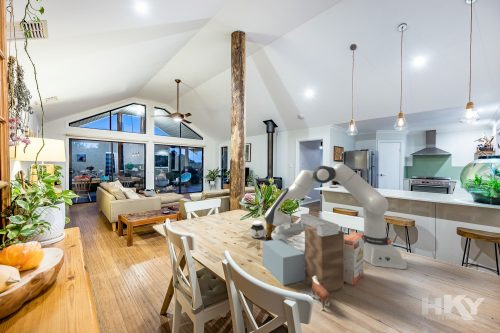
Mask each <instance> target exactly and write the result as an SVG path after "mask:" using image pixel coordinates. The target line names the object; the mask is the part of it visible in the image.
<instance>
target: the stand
mask: <svg viewBox="0 0 500 333" xmlns="http://www.w3.org/2000/svg"><path fill="white" fill-rule="evenodd" d="M344 234H345V232H344V231H343V230H340V229H338V234H334V235H328V236H319V235H317V229H316V228H314V227H311V226H308V227H306V228H305V231H304V254H305V280H304V282H305V283H306V284H307V285H309V287H311V288H312V281H313V279H310V277H313V276H317V278H318V279H321V280H320V281H319V280H318V282H319V283H320V284H321V285H322V286H323V287H324V288H325V289H326V290H327V292H328V293H329V294H332V293H335V292H339V291H342V290H344V282H343V276H344V238H345V237H344Z"/></svg>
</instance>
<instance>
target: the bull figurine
mask: <svg viewBox="0 0 500 333" xmlns="http://www.w3.org/2000/svg"><path fill="white" fill-rule="evenodd" d="M310 279H313V281H312V287H311V289H312V296H311V298H312V299H315V296H316V297H318V299H319V300H321V303H322V307H321V309H320V310H321V311H325V307H329V306H330V303H331V302H330V298H331V293H328V292H327V290H326V289H325V288H324V287H323V286H322V285H321V284H320V283H319V282H318V280H319V281H320V280H321V279H318V278H317V276H313V277H310Z"/></svg>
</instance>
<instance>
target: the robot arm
mask: <svg viewBox="0 0 500 333" xmlns="http://www.w3.org/2000/svg"><path fill="white" fill-rule="evenodd" d="M331 181H336V182H337V183H338V184H340V185H341V186H342V187H343V188H344V189H345V191H347V192H348V193H349V194H351V195H352V196H353V198H355V200H357V201H358V202H359V203H360V204H361V205H362V210H363V211H362V212H363V233H362V234H364V261H365V262H367V263H369V264H371V265H372V266H375V267H382V268H389V269H398V270H400V269H401V270H406V269H407V268H408V263H407V261H406V260H405V259H403V256H402V254H401V252H400V250H399V249H398V248H396V247H395V246H394V245H392V240H391V239H390V237H389V236H387V235H386V234H387V228H386V226H387V221H386V214H385V213H386V212H388V210H389V208H390V207H389V201H388V200H387V198H386V197H385V196H384V195H382V194H381V193H380V192H379V191H378V190H377V189H375V188H374V187H373V186H372V185H370V184H369V183H368V182H367V181H366V180H365V179H364V178H362V176H360V175H359V173H357V172H355V170H353V169H352V168H350V167H349V166H347V165H346V164H344V163H341V162H340V163H337V164H335V165H333V166H332V167H331V166H327V165H318V166H317V167H315V169H314V170H309V169H302V170H300V171H299V173H298V175H297V176H296V178H295V179H294V181H293V183H292V184H291V185H290V186H289V187H285V188H284V189H283V190H282V191H281V193H280V194H279V195H278V196H277V198H276V199H275V200H274V201H273V203H272V204H271V206H270V207H269V208H268V209H267V210H266V212H265V213H264V216H263V217H264V221H265V223H266V224H268V225H272V226H275V227H274V229H273V230H272V232H271V234H270V236H271V240H276V239H283V240H284V241H286V240H289V239H291V238H293V237H295V236H297V235H301V234H302V233H303V232H305V228H306V227H309V225H307V224H304V223H302V222H297V223H294V220H293V218H292V216H291V215H289V214H286V213H283V212H282V211H280V210H279V208H281V206H282V205H283V203H284V202H286V201H287V200H303V199H304V198H306V197H307V195H308V194H309V192H310V191H311V189H312V186H313V185H314V184H315V183H319V184H327V183H329V182H331Z"/></svg>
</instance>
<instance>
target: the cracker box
mask: <svg viewBox="0 0 500 333" xmlns="http://www.w3.org/2000/svg"><path fill="white" fill-rule="evenodd" d="M364 261H365V260H364V234H363V233H360V232H355V231H353V232H351V233H349V234H348V235H347V236H345V237H344V276H343V283H346V284H349V285H352V286H355V285H356V284H357V282H359V280H360V279H361V278H362V277H363V275H364V265H365V264H364Z"/></svg>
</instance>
